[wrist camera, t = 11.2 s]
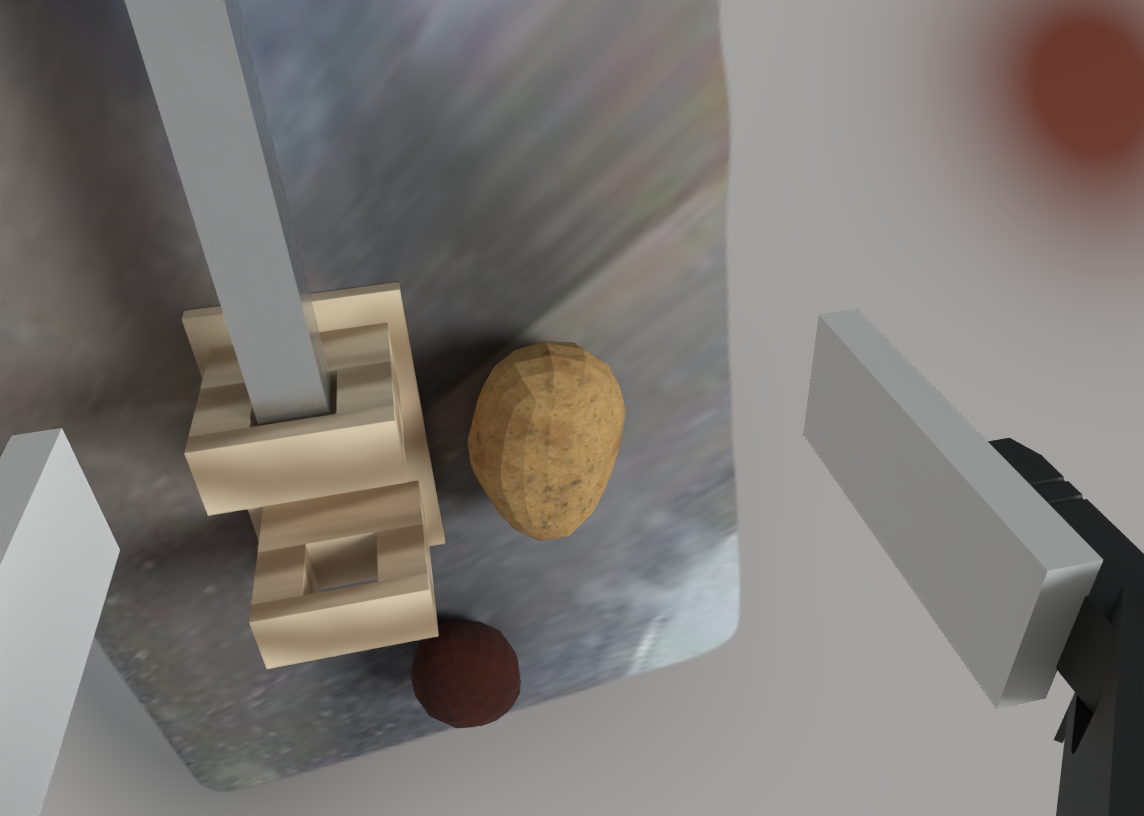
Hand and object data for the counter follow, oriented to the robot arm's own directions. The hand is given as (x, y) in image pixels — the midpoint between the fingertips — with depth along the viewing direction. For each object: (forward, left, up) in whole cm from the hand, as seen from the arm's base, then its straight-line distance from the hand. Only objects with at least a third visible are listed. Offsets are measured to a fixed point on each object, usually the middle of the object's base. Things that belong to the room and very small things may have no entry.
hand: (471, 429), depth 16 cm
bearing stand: (+24, -8, -35) cm, 43 cm away
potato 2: (+45, -2, -35) cm, 57 cm away
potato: (+24, +5, -35) cm, 43 cm away
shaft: (+5, -8, -30) cm, 31 cm away
